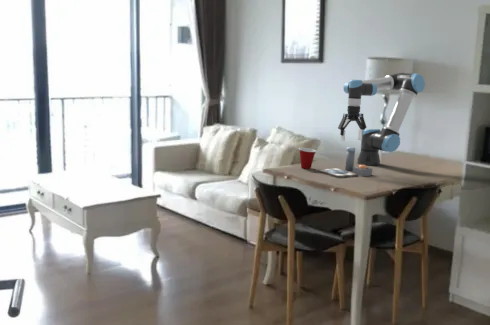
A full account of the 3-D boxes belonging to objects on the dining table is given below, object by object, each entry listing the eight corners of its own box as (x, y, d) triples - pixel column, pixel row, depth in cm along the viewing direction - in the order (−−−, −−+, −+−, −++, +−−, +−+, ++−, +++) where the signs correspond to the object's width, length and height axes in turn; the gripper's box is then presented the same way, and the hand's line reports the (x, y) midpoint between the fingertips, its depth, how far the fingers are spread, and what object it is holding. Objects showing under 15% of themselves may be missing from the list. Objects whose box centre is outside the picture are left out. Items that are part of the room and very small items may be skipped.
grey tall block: (349, 169, 343) (351, 146, 341) (355, 170, 339) (357, 148, 336) (343, 169, 341) (344, 147, 338) (348, 171, 336) (350, 148, 334)
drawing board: (336, 169, 339) (336, 167, 339) (358, 176, 322) (358, 174, 321) (316, 171, 331) (316, 169, 331) (337, 178, 314) (338, 175, 314)
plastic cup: (314, 170, 333) (315, 150, 331) (296, 169, 335) (297, 149, 333) (315, 167, 344) (317, 148, 342) (298, 165, 346) (299, 147, 344)
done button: (362, 168, 331) (363, 164, 330) (367, 170, 327) (368, 165, 326) (357, 169, 329) (357, 164, 328) (362, 170, 325) (362, 166, 324)
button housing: (362, 172, 334) (363, 166, 333) (371, 175, 327) (372, 168, 326) (352, 173, 330) (353, 166, 329) (361, 176, 323) (362, 169, 322)
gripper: (365, 104, 342) (363, 138, 346) (333, 105, 330) (331, 140, 334) (374, 106, 336) (371, 140, 339) (341, 106, 323) (339, 142, 327)
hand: (351, 140), depth 337 cm, fingers open, 13 cm apart
